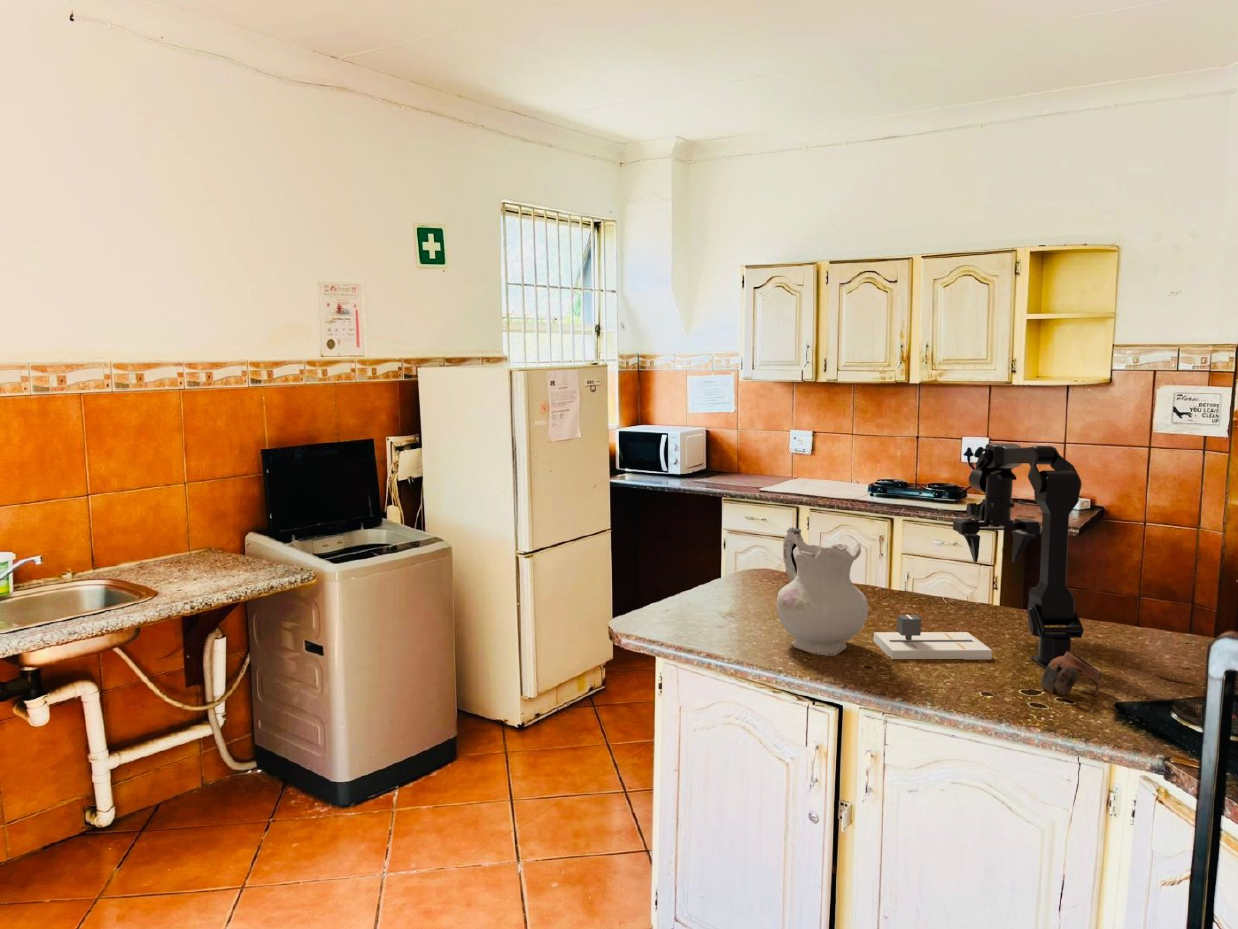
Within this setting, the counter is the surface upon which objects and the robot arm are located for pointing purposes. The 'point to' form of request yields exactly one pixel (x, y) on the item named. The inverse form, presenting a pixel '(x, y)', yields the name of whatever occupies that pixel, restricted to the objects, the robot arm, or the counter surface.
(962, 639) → the fader panel
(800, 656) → the counter surface
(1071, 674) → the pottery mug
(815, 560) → the ceramic pitcher
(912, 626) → the fader knob
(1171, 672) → the counter surface
